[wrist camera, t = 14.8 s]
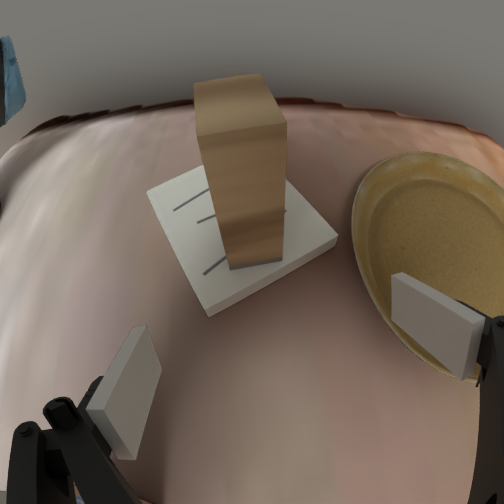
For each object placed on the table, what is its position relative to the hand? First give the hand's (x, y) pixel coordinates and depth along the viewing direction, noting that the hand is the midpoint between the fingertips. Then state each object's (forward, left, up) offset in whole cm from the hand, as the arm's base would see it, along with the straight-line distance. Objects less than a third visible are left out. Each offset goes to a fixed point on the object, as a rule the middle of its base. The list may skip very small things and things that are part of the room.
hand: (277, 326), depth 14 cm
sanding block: (-9, +3, -5) cm, 11 cm away
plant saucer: (+3, +19, -7) cm, 21 cm away
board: (-12, +3, -7) cm, 14 cm away
